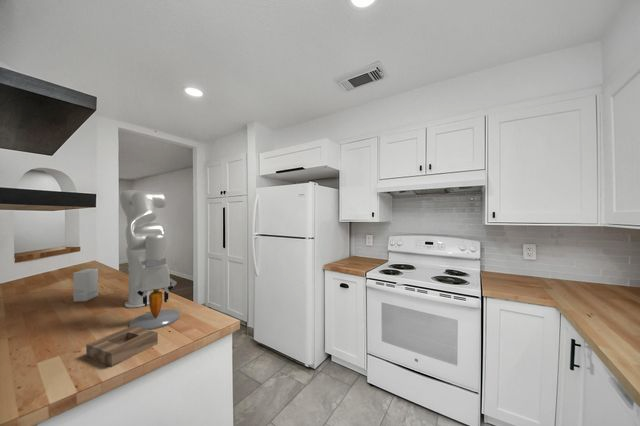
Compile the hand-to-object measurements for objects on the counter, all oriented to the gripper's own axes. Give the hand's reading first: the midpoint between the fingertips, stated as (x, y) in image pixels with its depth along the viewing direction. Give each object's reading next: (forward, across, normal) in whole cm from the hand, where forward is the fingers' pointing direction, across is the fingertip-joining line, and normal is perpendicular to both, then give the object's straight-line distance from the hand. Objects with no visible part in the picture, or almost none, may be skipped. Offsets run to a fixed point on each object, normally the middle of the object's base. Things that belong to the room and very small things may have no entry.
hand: (155, 303), depth 104 cm
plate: (+8, 0, 0) cm, 8 cm away
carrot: (+7, 0, 0) cm, 7 cm away
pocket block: (+8, -10, -20) cm, 24 cm away
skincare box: (+8, -28, +54) cm, 62 cm away
